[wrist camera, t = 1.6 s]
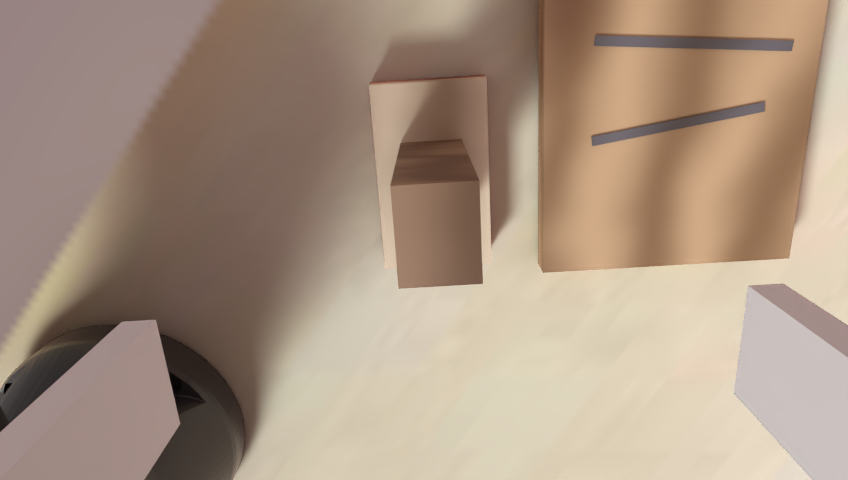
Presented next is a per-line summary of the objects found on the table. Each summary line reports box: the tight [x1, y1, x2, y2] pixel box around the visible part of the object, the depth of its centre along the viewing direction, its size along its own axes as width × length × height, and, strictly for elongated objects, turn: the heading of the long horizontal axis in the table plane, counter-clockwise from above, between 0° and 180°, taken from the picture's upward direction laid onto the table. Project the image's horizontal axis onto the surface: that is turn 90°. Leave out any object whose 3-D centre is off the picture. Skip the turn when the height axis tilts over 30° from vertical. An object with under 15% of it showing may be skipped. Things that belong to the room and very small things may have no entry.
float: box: [369, 75, 491, 289], centre depth 27 cm, size 6×10×12 cm, turn 3°
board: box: [538, 0, 829, 273], centre depth 30 cm, size 14×22×2 cm, turn 4°
